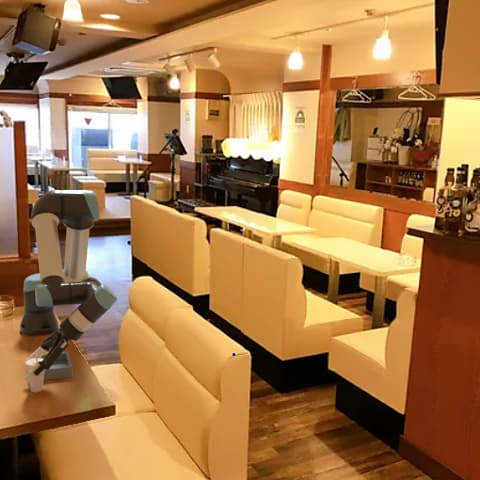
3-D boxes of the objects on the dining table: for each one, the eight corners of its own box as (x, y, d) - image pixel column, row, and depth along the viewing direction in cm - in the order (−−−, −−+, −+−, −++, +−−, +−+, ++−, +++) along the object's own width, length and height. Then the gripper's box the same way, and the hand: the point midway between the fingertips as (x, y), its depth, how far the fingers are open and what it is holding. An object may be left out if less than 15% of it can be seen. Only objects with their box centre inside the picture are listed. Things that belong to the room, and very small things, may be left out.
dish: (28, 365, 202) (28, 355, 201) (68, 361, 207) (68, 351, 207) (29, 381, 190) (29, 371, 189) (72, 376, 195) (72, 366, 194)
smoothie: (34, 396, 180) (34, 354, 177) (21, 390, 183) (20, 349, 181) (51, 388, 185) (50, 348, 183) (38, 383, 189) (37, 343, 186)
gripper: (86, 346, 174) (35, 396, 173) (82, 319, 198) (37, 363, 196) (68, 330, 172) (16, 381, 170) (66, 305, 195) (21, 349, 193)
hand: (27, 371), depth 183 cm, fingers open, 13 cm apart
